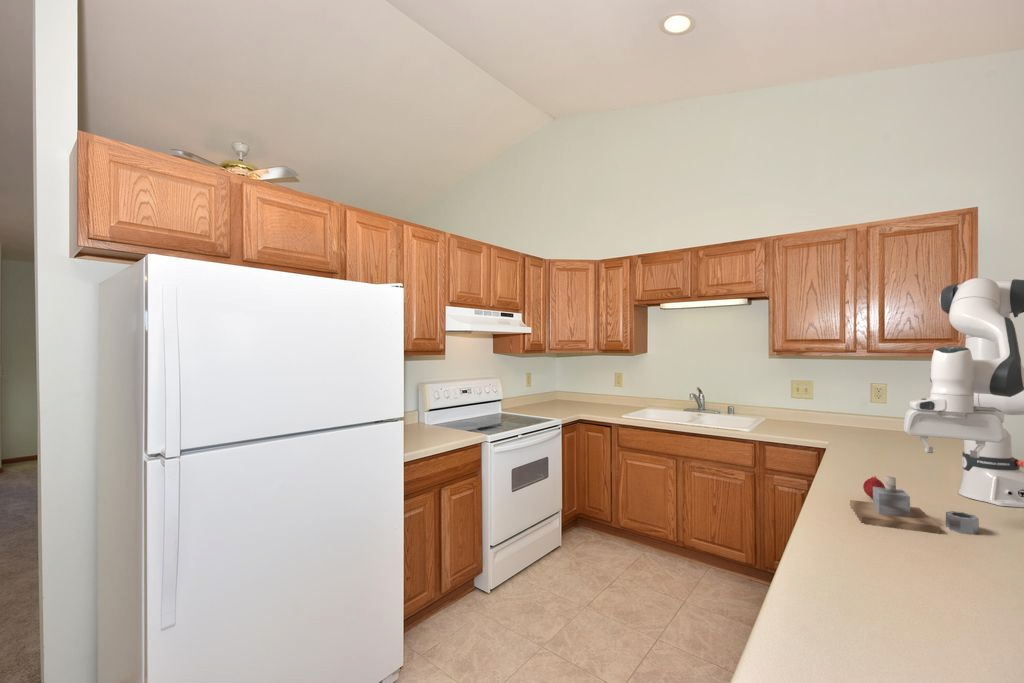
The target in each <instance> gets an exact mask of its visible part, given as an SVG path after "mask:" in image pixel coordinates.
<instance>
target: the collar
mask: <svg viewBox="0 0 1024 683" xmlns="http://www.w3.org/2000/svg"><path fill="white" fill-rule="evenodd" d="M945 527H946V528H947V527H948V528H949V529H950V530H949V529H948V528H947V529H948V530H949V531H952V530H953V532H956V533H959V532H960V533H959V534H964V533H967V534H966V535H972V534H974V535H977V534H976V533H978V534H980V522H979V517H978V516H976V515H974V514H971V513H968V512H961V511H953V510H950V511H945Z"/></svg>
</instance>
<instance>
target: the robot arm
mask: <svg viewBox="0 0 1024 683" xmlns="http://www.w3.org/2000/svg"><path fill="white" fill-rule="evenodd" d="M938 302H939V306H940V308H941V311H943V312H944V313H946V314H947V315H948V321H949V323H950V325H951V326H952V327H953V329H955V330H956V331H958V332H959V333H961V334H963V335H965V345H964V346H941V347H938V348H935V349H934V350H933V353H932V356H931V363H930V369H929V372H930V373H929V381H930V383H931V385H932V386H931V388H930V393H929V394H930V396H929V397H925V398H919V399H913V400H909V402H908V405H909V407H910V409H908V410H907V411H906V413H905V415H904V420H903V431H904V433H906V434H907V435H909V436H917V437H919V440H920V442H921V443H922V444H923V446H924V453H926V454H934V447H933V446H932V445H929V443H928V442H927V441H929V438H941V439H950V440H951V439H952V440H963V451H962V456H961V465H962V469H963V472H962V479H961V484H960V487H959V490H958V494H959V495H961V496H962V497H965V498H969V499H972V500H976V501H980V502H984V503H989V504H992V505H997V506H1000V507H1010V508H1011V507H1013V508H1014V507H1015V508H1024V471H1023V470H1022V469H1021V468H1023V469H1024V460H1022V459H1017V458H1015V457H1013V456H1012V435H1011V434H1010V433H1009V431H1008V430H1007V429H1006V428H1004V427H1003V423H1004V421H1005V415H1006V416H1024V366H1023V364H1022V358H1021V353H1020V346H1019V340H1018V336H1017V331H1016V327H1015V324H1014V322H1013V321H1012V319H1011V316H1010V314H1013V317H1014V318H1018V317H1019V315H1020V314H1023V313H1024V279H1015V278H1014V279H1012V280H1011V279H992V280H991V279H989V278H986V277H974V278H970V279H967V280H966V281H964V282H963V283H954V284H950V285H947V286H945V287H944V288H943V289H941V292H940V295H939V298H938Z"/></svg>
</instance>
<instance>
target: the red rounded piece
mask: <svg viewBox="0 0 1024 683" xmlns="http://www.w3.org/2000/svg"><path fill="white" fill-rule="evenodd" d="M876 476H877V475H874V474H873V475H871V478H868V479H866V480H865V481H864V483H863V486H862V487H863V491H864V494H866V495H867V496H868V497H870V499H872V500H873V487H881V488H885V483H884V482H882V481H881V480H880V479H878V478H877V477H876Z"/></svg>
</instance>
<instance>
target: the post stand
mask: <svg viewBox="0 0 1024 683" xmlns="http://www.w3.org/2000/svg"><path fill="white" fill-rule="evenodd" d="M884 482H885V483H884V486H885V488H881V487H873V499H872V501H863V500H862V501H861V500H855V499H854V500H853V499H849V506H851V507H850V508H851V510H852V509H853V510H852V511H853V512H855V513H854V514H855V516H856V515H857V516H856V517H857V519H858V518H859V519H858V520H859V522H860V521H861V522H860V523H861V524H862V523H864V524H863V525H869V524H872V525H871V526H876V525H880V526H879V527H884V526H888V527H887V528H892V527H894V529H899V528H901V529H900V530H907V531H908V530H909V531H915V532H916V531H917V532H924V533H931V534H940V531H941V530H940V529H941V528H940V525H939V524H938V523H937V522H935V521H934V519H932V518H931V517H930V516H929V515H927V514H926V512H925V511H923V509H921V508H920V507H915V506H911V496H910V495H909V494H908V493H906V491H905V490H903V489H900V488H899V489H898V488H897V479H896V477H894V476H884Z"/></svg>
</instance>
